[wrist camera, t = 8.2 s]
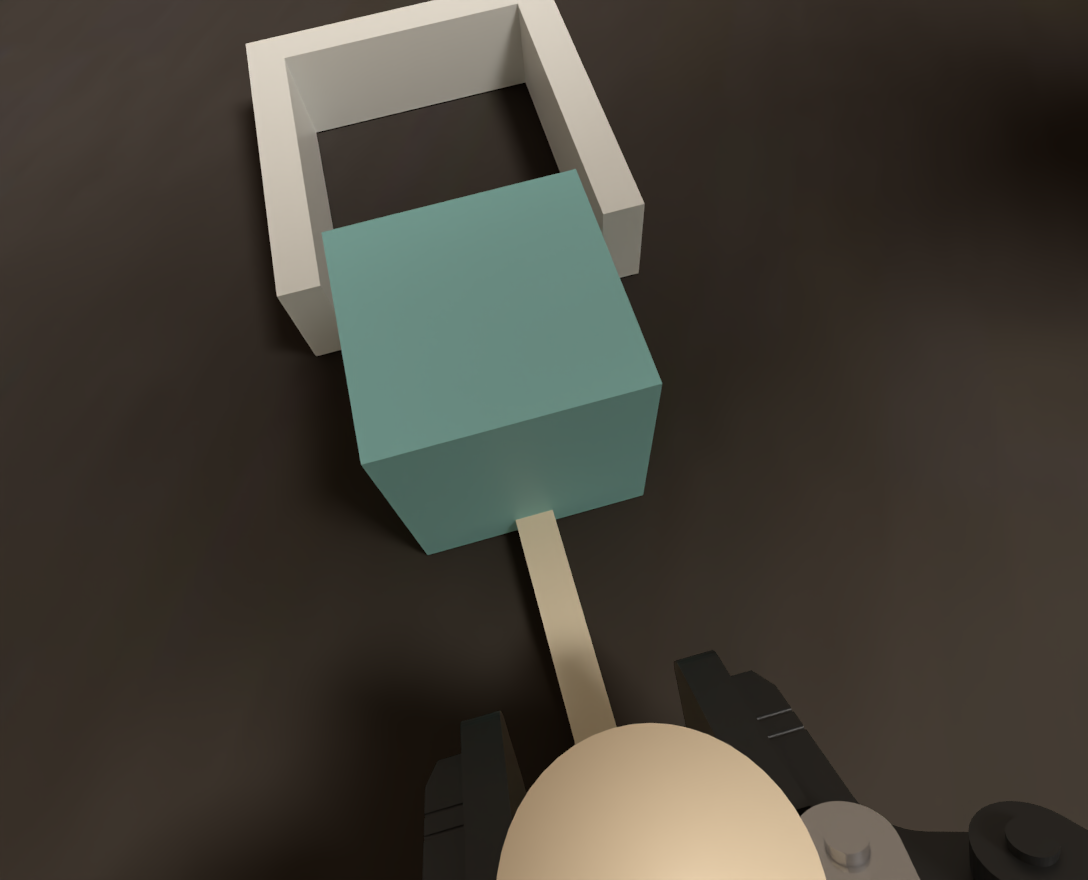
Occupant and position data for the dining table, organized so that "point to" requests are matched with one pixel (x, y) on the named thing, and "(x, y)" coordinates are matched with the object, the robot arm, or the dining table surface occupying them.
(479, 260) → the tethered block
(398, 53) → the cream u-shaped frame
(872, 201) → the dining table surface
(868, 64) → the dining table surface
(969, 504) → the dining table surface
